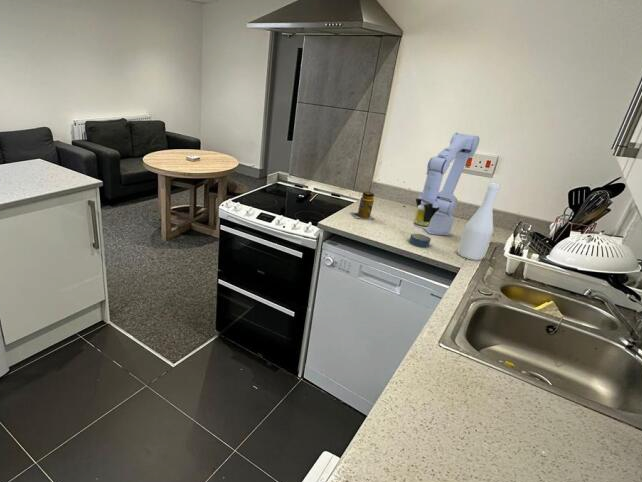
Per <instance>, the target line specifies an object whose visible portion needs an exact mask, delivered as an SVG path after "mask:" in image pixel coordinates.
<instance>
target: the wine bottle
mask: <svg viewBox="0 0 642 482" xmlns="http://www.w3.org/2000/svg"><path fill="white" fill-rule="evenodd" d="M500 187H501V186H500V183H497V182H489V183H488V185H487V189H486V192H485V195H484V198H483V200H482V203H481V205H480V206H479V207H478V208H477V210H476V211H475V212H474V214H473V215H472V216H471V218H470V219H469V220H468V221H467V222H466V224H465V226H464V229H463V232H462V234H461V238H460V241H459V243H458V247H457V254H458V255H459V256H461V257H462V258H465V259H467V260H471V261H481V260H483V259H484V257H485V255H486V252H487V249H488V247H489V245H490V241H491V238H492V236H493V233H494V216H493V214H494V213H493V211H494V209H493V207H494V203H495V199H496V196H497V194H498V191H500V190H499V189H500Z"/></svg>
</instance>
